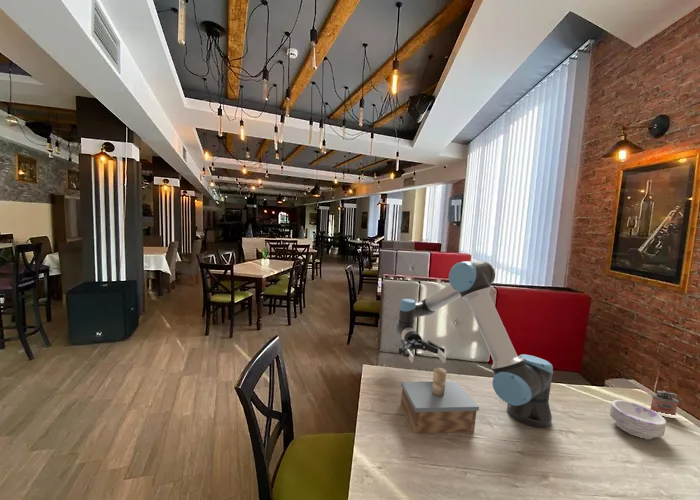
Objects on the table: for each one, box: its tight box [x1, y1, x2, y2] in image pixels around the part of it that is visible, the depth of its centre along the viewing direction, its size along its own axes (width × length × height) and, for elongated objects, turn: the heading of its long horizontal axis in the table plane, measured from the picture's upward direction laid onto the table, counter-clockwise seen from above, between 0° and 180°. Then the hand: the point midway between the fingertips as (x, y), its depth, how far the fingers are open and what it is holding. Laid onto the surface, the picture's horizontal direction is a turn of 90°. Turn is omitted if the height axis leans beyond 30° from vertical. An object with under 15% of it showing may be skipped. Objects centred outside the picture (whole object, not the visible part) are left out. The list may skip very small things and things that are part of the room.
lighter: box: [650, 390, 679, 416], centre depth 128 cm, size 8×3×10 cm, turn 68°
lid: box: [400, 367, 480, 412], centre depth 116 cm, size 23×17×10 cm
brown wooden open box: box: [400, 387, 477, 434], centre depth 117 cm, size 22×16×8 cm
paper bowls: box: [609, 399, 667, 440], centre depth 117 cm, size 15×15×8 cm
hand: (429, 359), depth 125 cm, fingers open, 13 cm apart
